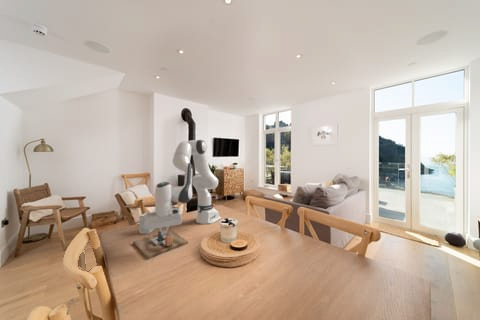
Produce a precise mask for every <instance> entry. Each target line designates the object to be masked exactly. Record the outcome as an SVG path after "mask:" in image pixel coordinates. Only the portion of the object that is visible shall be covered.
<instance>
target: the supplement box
mask: <svg viewBox="0 0 480 320" xmlns="http://www.w3.org/2000/svg"><path fill="white" fill-rule="evenodd" d="M146 213H147V212H144V213H142V214H141V215H139V228H138V229H139V230H138V231H139V233H138V234H144V235H145V234H147V235H149V234H150V233H152V232H153V231H154V230H155V229H151V230H145V229H144V224H145V221H144V219H143V217H144V215H145V214H146Z"/></svg>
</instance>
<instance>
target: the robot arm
mask: <svg viewBox="0 0 480 320" xmlns="http://www.w3.org/2000/svg"><path fill="white" fill-rule="evenodd" d="M206 151H207V144H206V141H204V140H202V139H194V140H193V139H192V140H191V139H190V140H186V141H181V142H179V143H178V145H177V146H176V149H175V152H174V154H173V157H172V163H173V166H174V167H175V169H178V170H179V171H180V172H183V173H184V180H183V181H184V182H183V185H180V186H177V185H173V184H172V185H171V183H170V182H168V181H164V182H159V183H158V184H156V186H155V192H154V200H155V206H154V211H153V212H145V213H146V214H145V215H144V217H143V219H144V221H145V224H144V229H145V230H151V229H154V230H155V229H156V230H157V229H159V231H161V235H164V234H167V231H169V228H170V227H172V226H177V225H178V226H179V225H182V223H183V216H182V213H181V210H180V207H179V206H173V204H172V202H173V203H174V202H175V203H182V204H188V202H190V201H191V200H192V199H193V195H194V194H193V192H194V191H193V187H194V189H195V190H196V194H197V205H196V206H197V210H196V211H197V215H196V219H195V222H196V223H197V224H201V225H202V224H203V225H204V224H205V225H206V224H208V225H211V224H214V223H216V222H217V221H220V220H222V219H221V218H222V216H220V213H219V211H218V210H217V209H216V208H215V206H216V204H214V203H212V195H211V193H210V192H209V191H208V189H209V190H215V189H216V188H217V187H218V186H219V178H217V177H216V176H215V175H214V174H213V172H212V171H211V168H210V167H209V166H210V164H209V162H208V161H209V160H208V156H207V153H206ZM191 157H192V159H193V163H194V167H193V164H192V163H191ZM194 169H195V171H196V172H197V173H198V174H196V175H194ZM219 219H220V220H219ZM163 228H165V230H163Z"/></svg>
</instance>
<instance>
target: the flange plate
mask: <svg viewBox="0 0 480 320" xmlns="http://www.w3.org/2000/svg"><path fill="white" fill-rule="evenodd" d="M163 239H164V240H162V241H159V242H158V241H157V240H158V237H156V238H153V239H150V241H151V242H152V243H153V244H155V245H156V246H158V245H161V244H163V245H164V246H169V245H171V236H170V235H168V236H165V235H163Z"/></svg>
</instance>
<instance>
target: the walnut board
mask: <svg viewBox="0 0 480 320" xmlns="http://www.w3.org/2000/svg"><path fill="white" fill-rule="evenodd" d="M164 235H165V236H168V235H170V236H171V245H169V246H164V245H163V244H161V245H158V246H156V245H155V244H153V243H152V242H151V241H150V239H153V238H156V237H158V240H157V241H158V242H159V241H162V240H164V239H163V235H161V231H160V230H159V231H158V232H157V234H153V235H149V236H146V237H143V238H141V239H136V240H134V241H132V244H133V245H134V247H135V248H136V249H137V250H138V251H139V252H140V253H141V254H142V255H143V256H144V257H145V258H146V259H147V260H150V259H153V258H155V257H158V256H160V255H162V254H165V253H168V252H170V251H172V250H175V249H177V248H180V247H183V246H185V245H188V244H189V241H188V240H187V239H185V238H184V237H182V236H180V235H178V234H177V233H175V232H174V231H172V230H169V229H168V230H167V234H164Z"/></svg>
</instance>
